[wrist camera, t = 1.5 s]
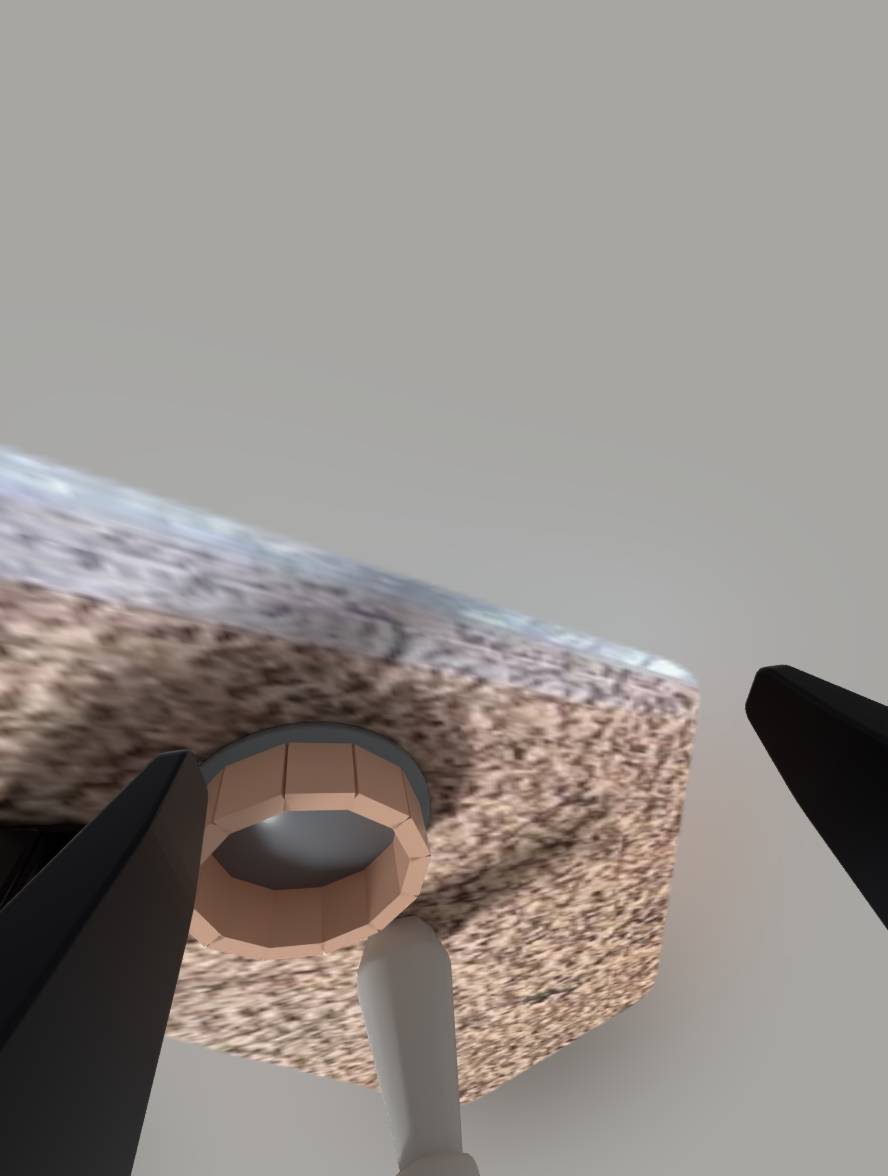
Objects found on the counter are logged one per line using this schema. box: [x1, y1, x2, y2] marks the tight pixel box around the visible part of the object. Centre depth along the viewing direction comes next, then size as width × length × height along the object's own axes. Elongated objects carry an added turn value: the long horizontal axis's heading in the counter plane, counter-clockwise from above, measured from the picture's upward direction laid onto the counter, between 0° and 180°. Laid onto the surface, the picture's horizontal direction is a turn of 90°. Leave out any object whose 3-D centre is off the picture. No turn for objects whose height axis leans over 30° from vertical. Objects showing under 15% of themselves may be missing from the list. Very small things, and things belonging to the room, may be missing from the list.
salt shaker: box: [357, 915, 480, 1176], centre depth 28 cm, size 6×6×13 cm
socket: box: [189, 722, 431, 961], centre depth 25 cm, size 13×13×4 cm
